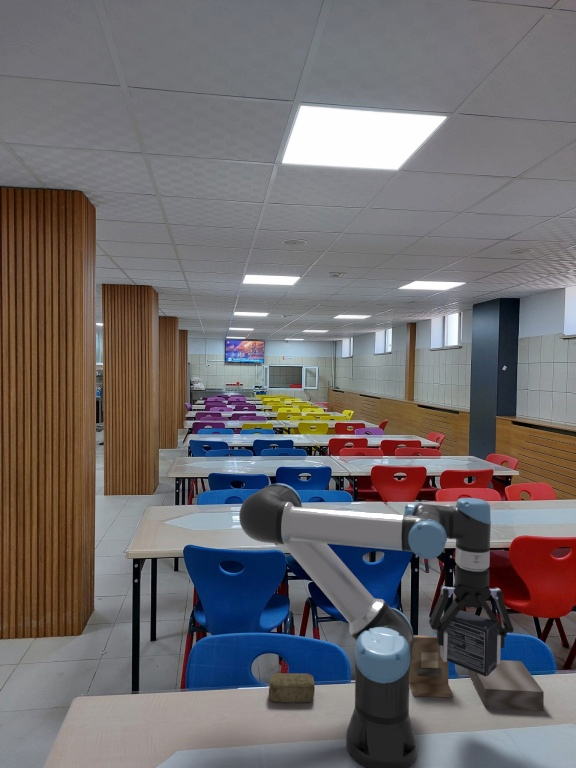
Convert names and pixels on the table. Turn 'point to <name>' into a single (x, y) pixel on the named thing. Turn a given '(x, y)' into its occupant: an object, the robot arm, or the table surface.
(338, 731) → the table surface
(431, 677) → the stand
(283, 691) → the stone block
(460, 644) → the small box
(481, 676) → the base block
